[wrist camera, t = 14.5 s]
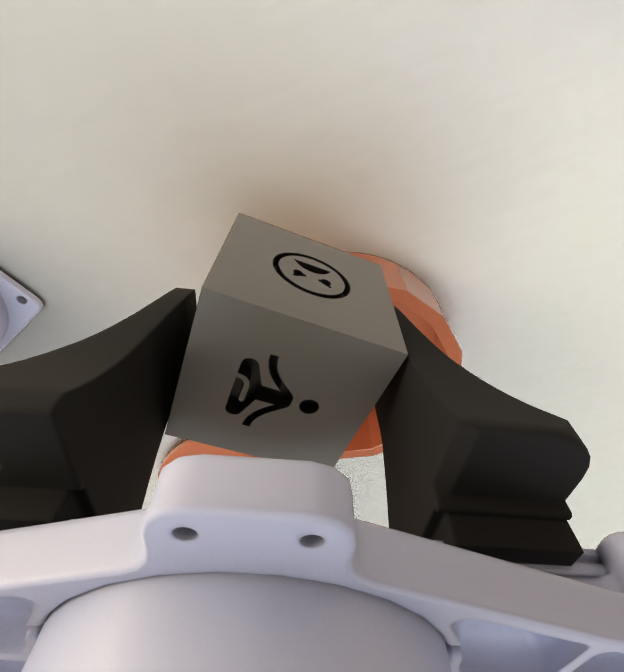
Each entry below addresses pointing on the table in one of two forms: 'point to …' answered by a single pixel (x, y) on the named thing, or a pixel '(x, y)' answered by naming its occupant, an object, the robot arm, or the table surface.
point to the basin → (425, 317)
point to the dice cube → (285, 348)
